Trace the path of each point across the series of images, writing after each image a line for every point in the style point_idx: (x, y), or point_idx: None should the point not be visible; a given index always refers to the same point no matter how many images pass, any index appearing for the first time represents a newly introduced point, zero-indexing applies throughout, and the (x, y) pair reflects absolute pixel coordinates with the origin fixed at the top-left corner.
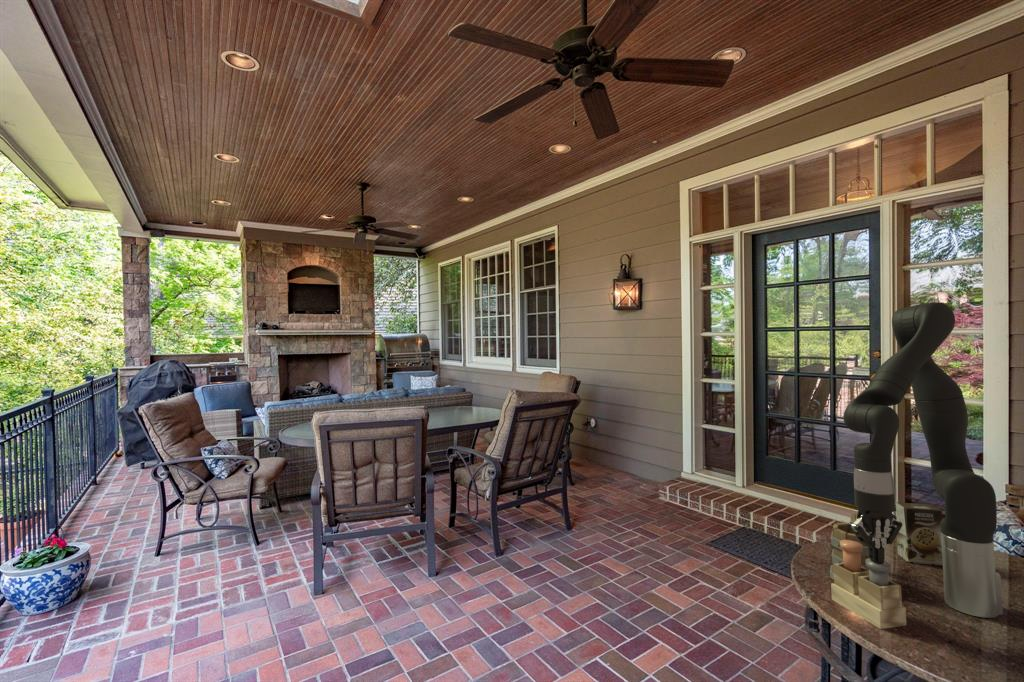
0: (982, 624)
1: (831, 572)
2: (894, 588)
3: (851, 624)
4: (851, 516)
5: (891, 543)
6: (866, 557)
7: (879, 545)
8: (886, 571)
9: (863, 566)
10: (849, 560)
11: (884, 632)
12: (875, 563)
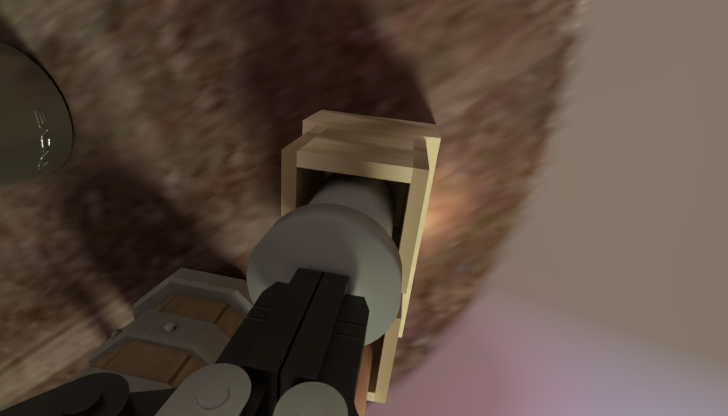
0: (57, 23)
1: None
2: (328, 153)
3: (502, 180)
4: None
5: (89, 380)
6: (170, 380)
7: (285, 410)
8: (344, 208)
9: (208, 353)
10: (363, 388)
11: (444, 104)
12: (355, 289)
